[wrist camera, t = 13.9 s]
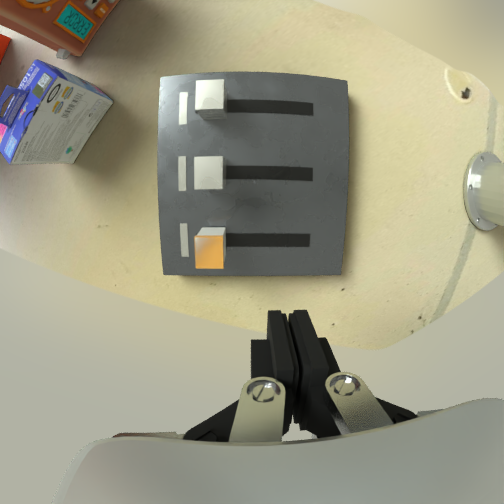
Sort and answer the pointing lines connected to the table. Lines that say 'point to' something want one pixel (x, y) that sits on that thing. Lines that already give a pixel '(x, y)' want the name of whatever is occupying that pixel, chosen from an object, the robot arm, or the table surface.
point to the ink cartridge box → (49, 116)
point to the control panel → (57, 21)
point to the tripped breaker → (210, 247)
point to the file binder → (3, 45)
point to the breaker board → (254, 171)
